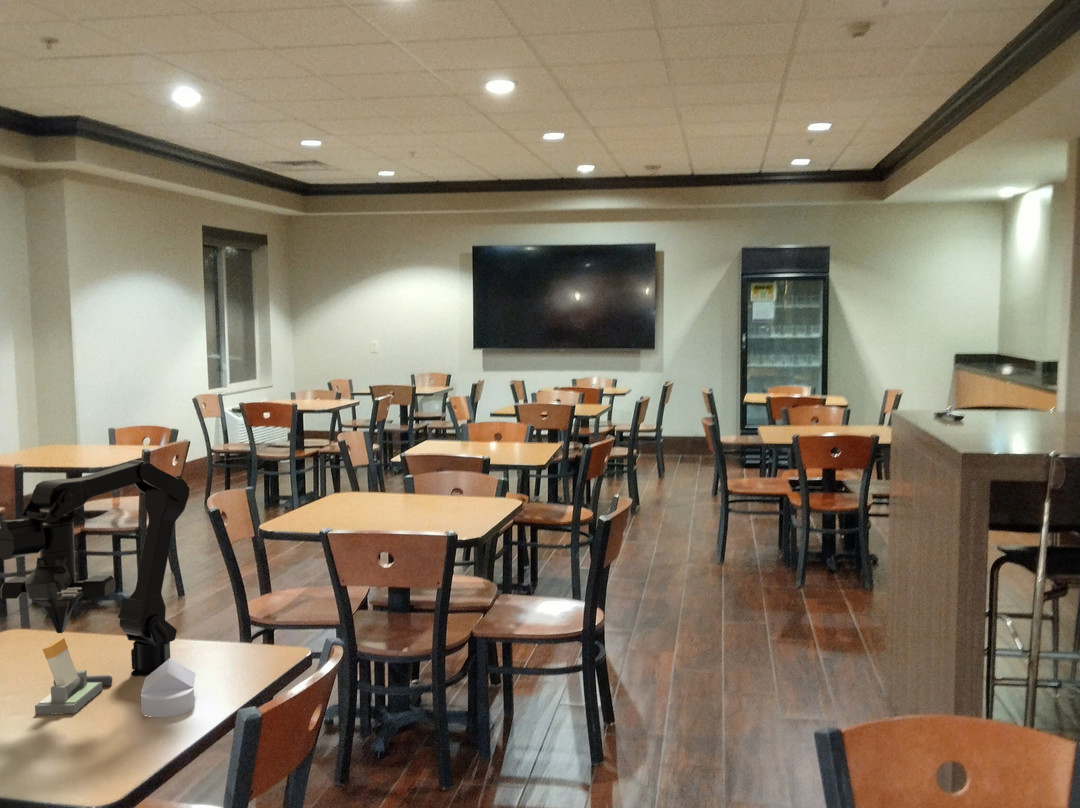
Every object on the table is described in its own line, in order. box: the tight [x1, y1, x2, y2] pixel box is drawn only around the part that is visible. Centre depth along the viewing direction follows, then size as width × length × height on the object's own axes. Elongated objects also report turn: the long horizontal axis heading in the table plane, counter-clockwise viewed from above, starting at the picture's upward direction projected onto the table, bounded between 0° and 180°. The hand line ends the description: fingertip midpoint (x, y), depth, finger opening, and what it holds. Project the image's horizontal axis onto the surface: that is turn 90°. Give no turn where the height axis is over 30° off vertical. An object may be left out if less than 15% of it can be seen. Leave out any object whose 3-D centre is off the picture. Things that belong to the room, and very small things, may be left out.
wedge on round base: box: [140, 657, 196, 718], centre depth 184 cm, size 9×7×13 cm
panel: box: [34, 669, 104, 715], centre depth 185 cm, size 7×12×4 cm, turn 1°
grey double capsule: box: [53, 674, 113, 687], centre depth 195 cm, size 11×3×2 cm, turn 91°
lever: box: [42, 637, 81, 694], centre depth 185 cm, size 2×6×10 cm, turn 1°
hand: (60, 632), depth 184 cm, fingers closed
